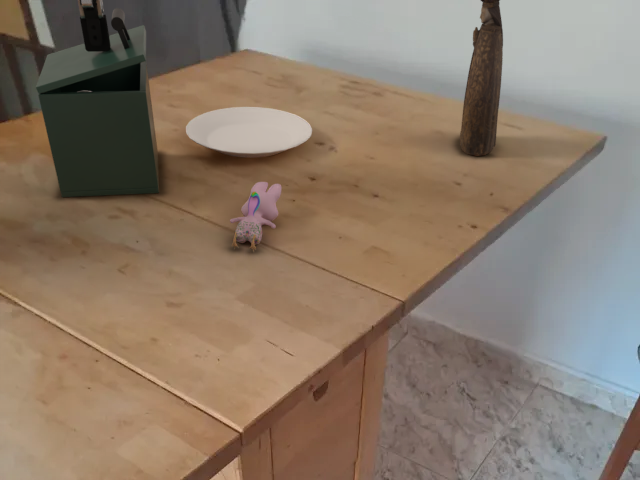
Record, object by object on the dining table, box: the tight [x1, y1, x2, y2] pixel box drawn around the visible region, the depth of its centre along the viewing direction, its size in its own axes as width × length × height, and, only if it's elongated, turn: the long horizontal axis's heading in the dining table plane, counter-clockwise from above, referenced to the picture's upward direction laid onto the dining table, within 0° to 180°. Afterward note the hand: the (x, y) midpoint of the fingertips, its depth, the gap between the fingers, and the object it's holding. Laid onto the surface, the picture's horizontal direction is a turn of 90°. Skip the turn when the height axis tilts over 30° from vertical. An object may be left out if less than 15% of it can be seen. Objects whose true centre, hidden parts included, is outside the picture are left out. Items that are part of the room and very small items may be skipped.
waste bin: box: [38, 60, 160, 198], centre depth 99 cm, size 14×15×14 cm
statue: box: [459, 0, 504, 157], centre depth 109 cm, size 9×8×25 cm
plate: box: [185, 106, 313, 159], centre depth 114 cm, size 21×21×2 cm
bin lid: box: [35, 7, 147, 94], centre depth 92 cm, size 14×15×5 cm
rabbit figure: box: [229, 181, 283, 253], centre depth 91 cm, size 6×6×15 cm
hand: (98, 49), depth 92 cm, fingers closed
